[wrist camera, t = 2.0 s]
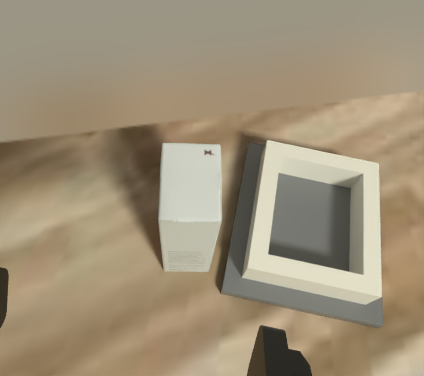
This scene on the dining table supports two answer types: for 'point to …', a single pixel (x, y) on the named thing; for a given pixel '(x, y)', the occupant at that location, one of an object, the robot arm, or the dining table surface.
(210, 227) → the skincare box
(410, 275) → the dining table surface
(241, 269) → the socket plate
